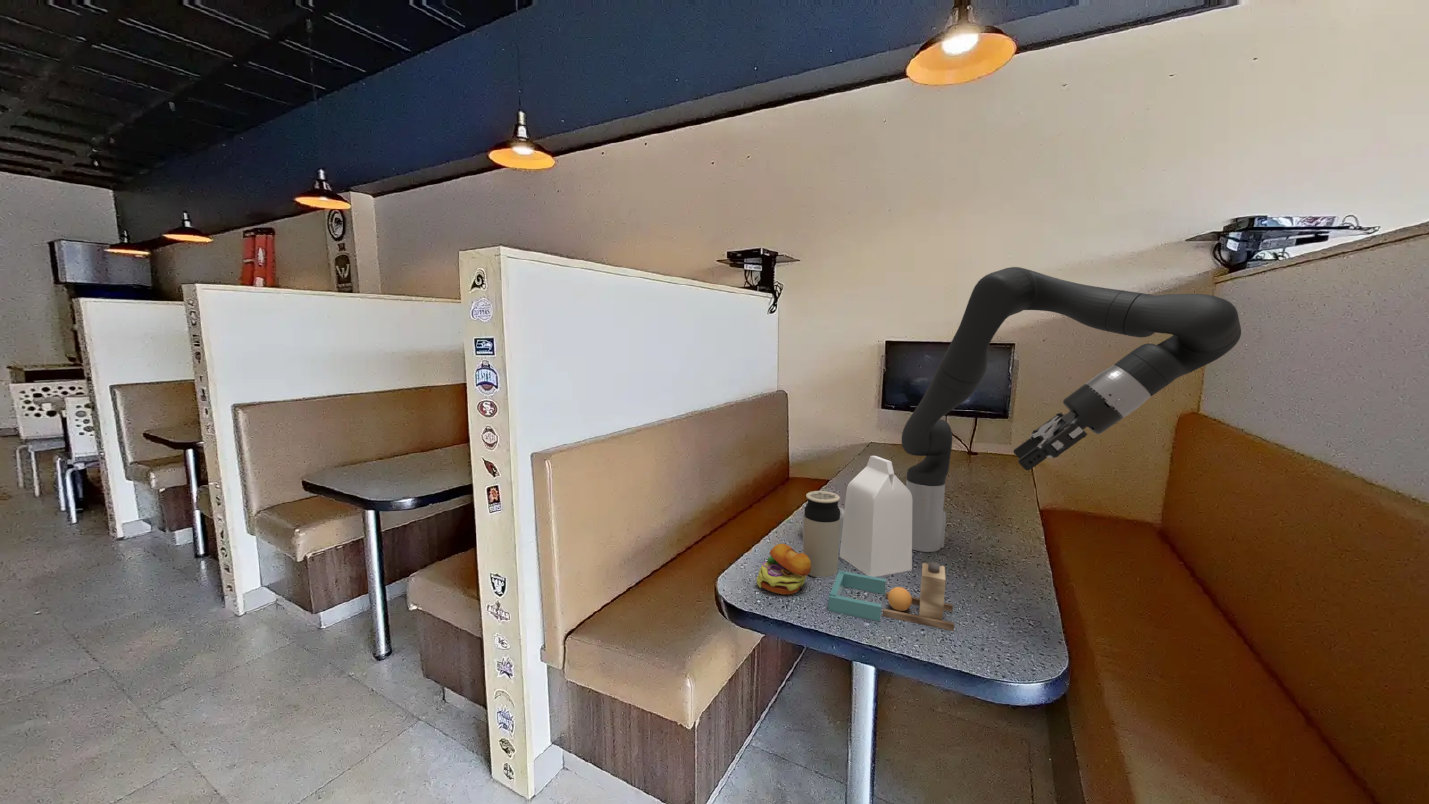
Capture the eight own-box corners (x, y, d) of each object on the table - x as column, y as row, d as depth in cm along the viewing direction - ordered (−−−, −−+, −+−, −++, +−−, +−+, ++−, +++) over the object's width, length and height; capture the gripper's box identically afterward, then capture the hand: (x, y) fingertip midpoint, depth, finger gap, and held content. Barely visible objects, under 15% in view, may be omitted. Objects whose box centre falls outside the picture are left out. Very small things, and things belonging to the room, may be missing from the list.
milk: (839, 558, 126) (844, 454, 123) (878, 552, 130) (884, 451, 127) (869, 580, 115) (876, 466, 112) (911, 573, 119) (919, 463, 116)
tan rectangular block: (941, 610, 102) (945, 559, 101) (942, 625, 96) (946, 572, 95) (919, 605, 103) (923, 556, 102) (919, 620, 98) (922, 568, 97)
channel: (952, 610, 102) (952, 604, 102) (954, 631, 95) (954, 625, 95) (885, 597, 107) (886, 591, 107) (882, 616, 100) (882, 610, 99)
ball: (901, 602, 105) (902, 581, 104) (915, 613, 101) (917, 592, 100) (882, 605, 104) (884, 584, 103) (896, 616, 99) (898, 595, 99)
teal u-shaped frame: (885, 594, 109) (886, 579, 109) (880, 624, 98) (881, 607, 97) (838, 585, 113) (839, 570, 112) (828, 613, 101) (828, 596, 101)
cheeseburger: (751, 575, 117) (762, 533, 116) (795, 584, 118) (807, 543, 117) (758, 597, 107) (771, 551, 106) (807, 607, 108) (820, 562, 107)
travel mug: (840, 579, 116) (844, 501, 113) (805, 578, 116) (808, 501, 113) (833, 563, 124) (836, 490, 121) (799, 563, 124) (802, 490, 121)
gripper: (1078, 379, 92) (1000, 437, 98) (1098, 385, 79) (1006, 452, 85) (1112, 411, 90) (1030, 468, 96) (1137, 422, 77) (1041, 487, 84)
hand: (1019, 460), depth 91 cm, fingers open, 8 cm apart
